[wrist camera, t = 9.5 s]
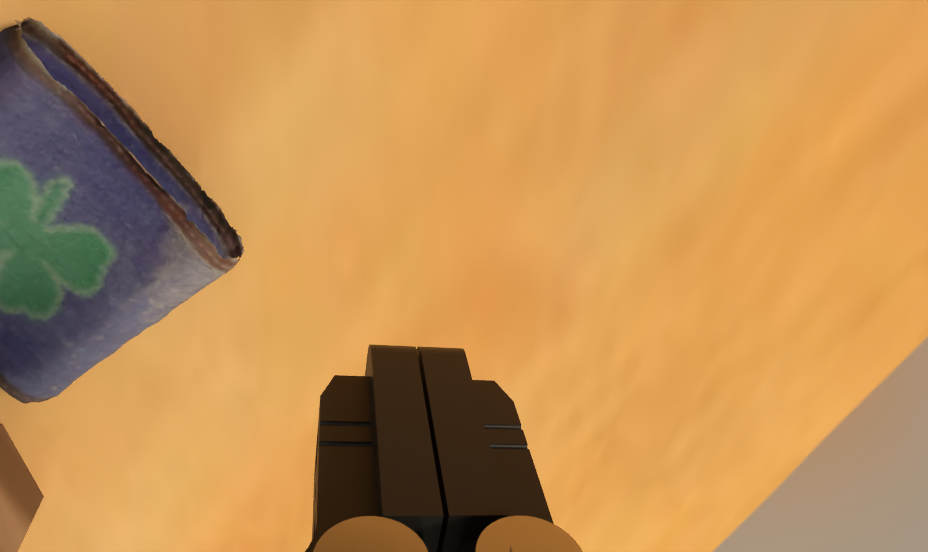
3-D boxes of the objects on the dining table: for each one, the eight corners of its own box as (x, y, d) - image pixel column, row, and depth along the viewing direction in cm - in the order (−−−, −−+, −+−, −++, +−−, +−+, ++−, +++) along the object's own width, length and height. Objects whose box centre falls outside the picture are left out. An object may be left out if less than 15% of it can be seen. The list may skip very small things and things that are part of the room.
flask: (240, 272, 23) (-6, 448, 25) (254, 237, 26) (30, 398, 28) (0, 18, 20) (-271, 245, 21) (44, 8, 22) (-199, 210, 24)
